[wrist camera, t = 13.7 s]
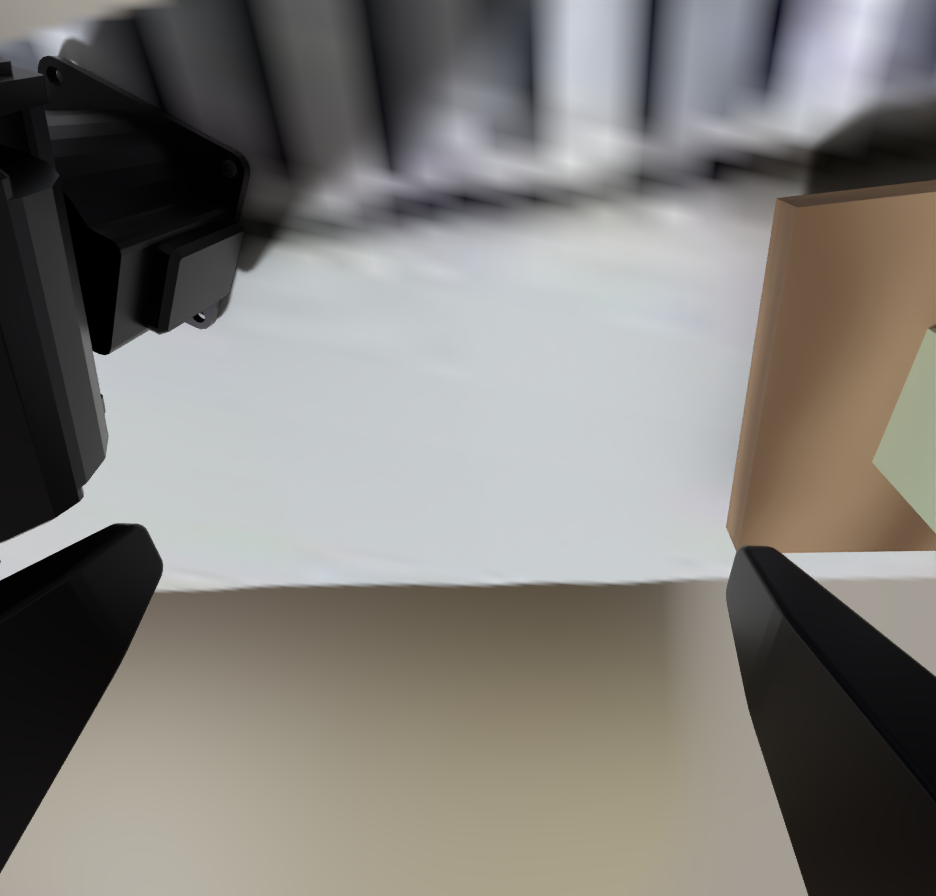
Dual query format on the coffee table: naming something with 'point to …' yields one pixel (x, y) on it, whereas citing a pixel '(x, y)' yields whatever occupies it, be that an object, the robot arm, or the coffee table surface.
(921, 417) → the sage block
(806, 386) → the tan square board
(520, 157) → the coffee table surface
